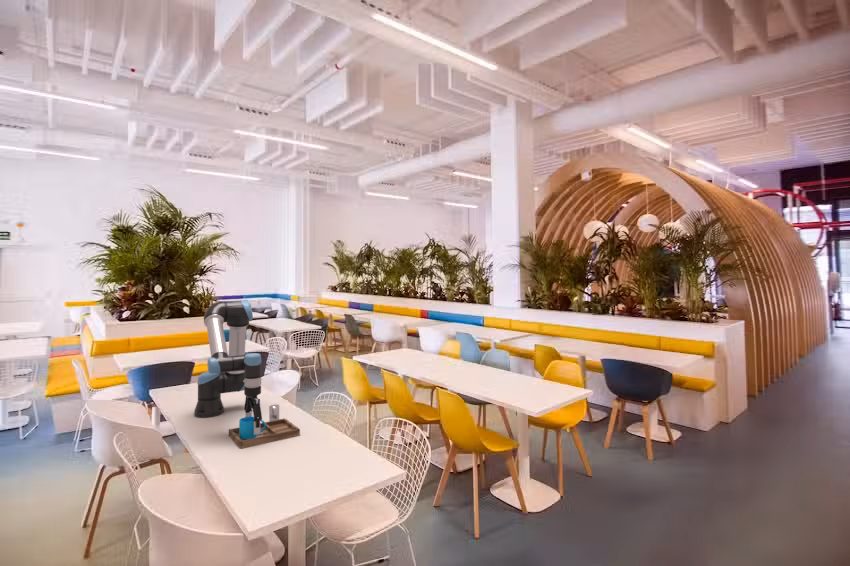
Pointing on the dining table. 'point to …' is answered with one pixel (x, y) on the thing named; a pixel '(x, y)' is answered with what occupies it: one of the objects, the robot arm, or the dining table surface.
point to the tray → (267, 433)
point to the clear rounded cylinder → (273, 412)
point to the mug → (248, 428)
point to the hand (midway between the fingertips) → (252, 429)
